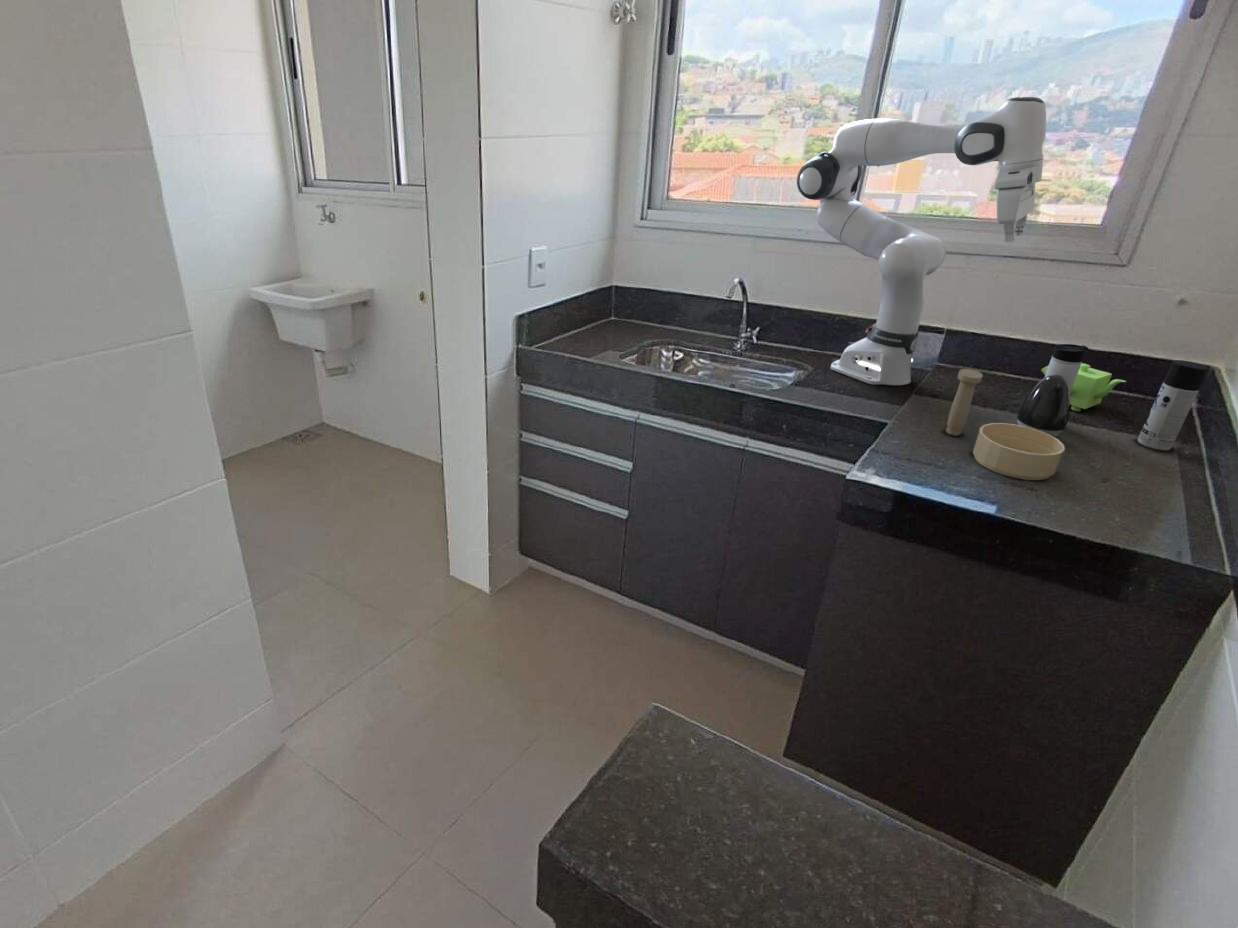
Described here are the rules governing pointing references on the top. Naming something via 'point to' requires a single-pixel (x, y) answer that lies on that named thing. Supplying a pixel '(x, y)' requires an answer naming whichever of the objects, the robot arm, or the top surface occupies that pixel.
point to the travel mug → (1066, 362)
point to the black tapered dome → (1047, 406)
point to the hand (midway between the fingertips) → (1014, 238)
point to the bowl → (1018, 451)
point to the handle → (962, 400)
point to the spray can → (1172, 404)
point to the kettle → (1089, 387)
